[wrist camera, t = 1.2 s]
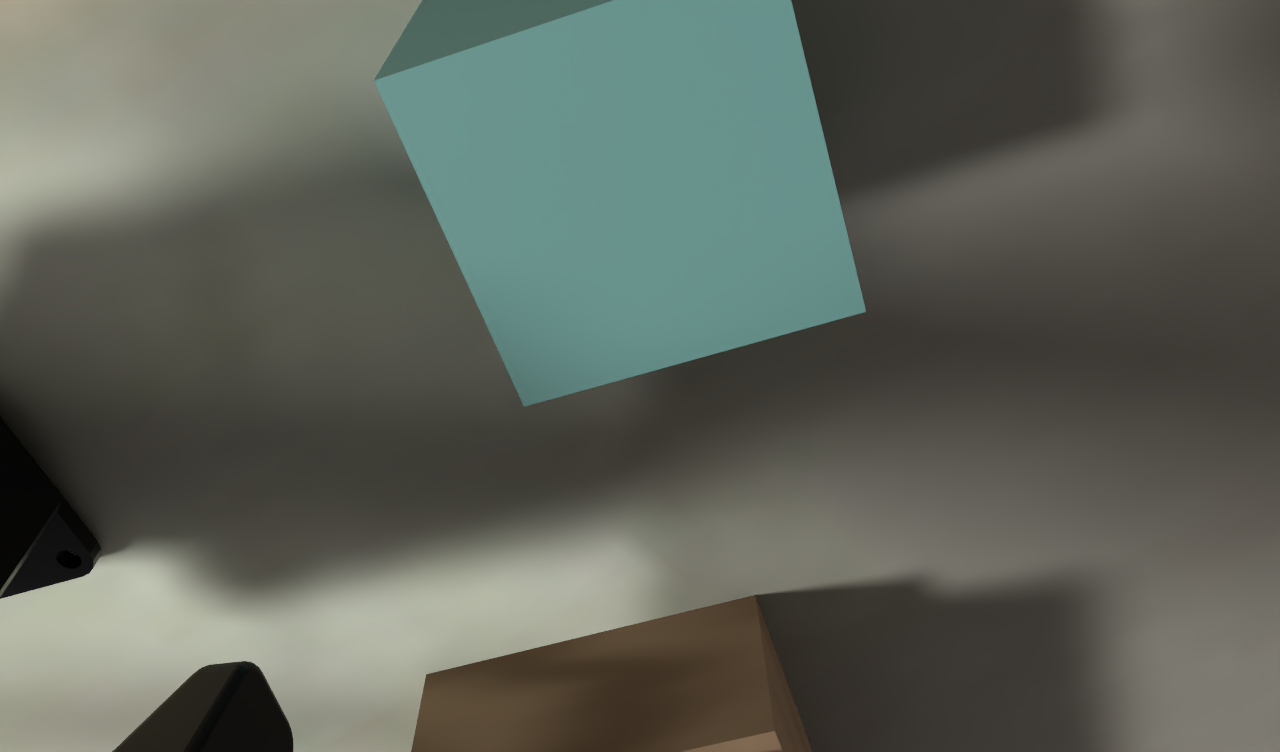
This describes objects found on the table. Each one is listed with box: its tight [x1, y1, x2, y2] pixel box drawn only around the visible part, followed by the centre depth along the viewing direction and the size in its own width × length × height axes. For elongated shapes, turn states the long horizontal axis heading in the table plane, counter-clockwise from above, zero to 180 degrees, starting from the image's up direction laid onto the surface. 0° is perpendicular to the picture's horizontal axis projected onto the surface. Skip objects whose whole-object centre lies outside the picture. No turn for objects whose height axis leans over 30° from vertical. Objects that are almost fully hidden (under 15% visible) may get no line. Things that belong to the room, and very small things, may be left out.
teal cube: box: [374, 0, 866, 407], centre depth 16 cm, size 5×5×5 cm
